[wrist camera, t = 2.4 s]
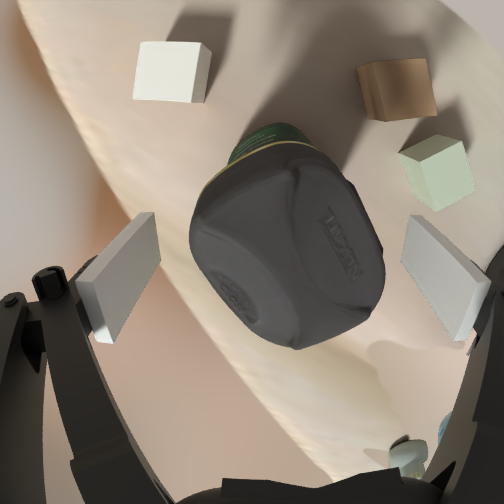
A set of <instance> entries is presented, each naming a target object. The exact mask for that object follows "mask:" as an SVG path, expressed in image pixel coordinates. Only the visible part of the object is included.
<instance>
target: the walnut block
mask: <svg viewBox="0 0 504 504" xmlns="http://www.w3.org/2000/svg"><path fill="white" fill-rule="evenodd" d="M356 71H357V75H358V79H359V83H360V86H361V90H362V94H363V99H364V103H365V107H366V111H367V116H368V119H373V120H379V121H384V122H389V121H396V120H403V119H410V118H419V117H427V116H437V109H436V104H435V99H434V94H433V89H432V84H431V80H430V75H429V71H428V67H427V63H426V59H425V58H420V59H400V60H386V61H376V62H370V63H368V64H365V65H363V66H360V67H358V68H356Z"/></svg>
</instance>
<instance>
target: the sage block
mask: <svg viewBox="0 0 504 504" xmlns="http://www.w3.org/2000/svg"><path fill="white" fill-rule="evenodd" d="M398 154H399V156H400V159H401V161H402V164H403V166H404V169H405V171H406V174H407V176H408V179H409V182H410V184H411V187H412V190H413V193H414V195H415V197H416V198H418V199H419V200H421V201H422V202H423V203H425V204H426V205H427V206H429V207H430V208H431V209H433V210H434V211H435V212H438V211H440V210H441V209H443V208H445V207H447V206H449V205H450V204H452V203H454V202H456V201H458V200H459V199H461V198H463V197H465V196H466V195H468V194H470V193H472V192H473V191H475V190H476V189H475V185H474V181H473V177H472V173H471V170H470V166H469V162H468V159H467V156H466V152H465V149H464V146H463V143H462V141H461V140H457V139H454V138H450V137H446V136H442V135H438V134H435V135H433V136H431V137H429V138H427V139H425V140H423V141H421V142H419V143H417V144H415V145H413V146H411V147H409V148H407V149H405V150H403V151H401V152H399V153H398Z"/></svg>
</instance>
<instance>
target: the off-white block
mask: <svg viewBox="0 0 504 504" xmlns="http://www.w3.org/2000/svg"><path fill="white" fill-rule="evenodd" d="M211 57H212V52H211V51H210V50H209V49H208V48H206V47H205V46H204V45H203V44H202V43H199V42H141V45H140V51H139V57H138V63H137V69H136V76H135V83H134V90H133V98H132V99H142V100H163V101H178V102H190V103H204V99H205V93H206V86H207V80H208V74H209V68H210V63H211Z"/></svg>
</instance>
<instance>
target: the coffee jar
mask: <svg viewBox="0 0 504 504" xmlns="http://www.w3.org/2000/svg"><path fill="white" fill-rule="evenodd" d="M189 244H190V249H191V253H192V255H193V258H194V260H195V262H196V263H197V265H198V267H199V269H200V270H201V271H202V272H203V274H204V275H205V277H206V278H207V280H208V281H209V282H210V284H211V285H212V287H213V288H214V289H215V291H216V292H217V293H218V294H219V296H220V297H221V298H222V300H223V301H224V302H225V303H226V304H227V306H228V307H229V308H230V309H231V310H232V311H233V312H234V313H235V314H236V315H237V317H238V318H239V319H240V320H241V321H242V322H243V323H244V324H245V325H246V326H247V327H248V328H249V329H250V330H251V331H252V332H254V333H255V334H257V335H258V336H260V337H261V338H263V339H265V340H267V341H269V342H272V343H274V344H277V345H281V346H285V347H291V348H292V349H295V350H300V349H303V348H306V347H309V346H312V345H315V344H318V343H321V342H323V341H326V340H328V339H331V338H333V337H335V336H338V335H340V334H342V333H344V332H346V331H348V330H350V329H352V328H354V327H356V326H357V325H359V324H361V323H363V322H364V321H366V320H367V319H368V318H369V317H370V315H371V313H372V311H373V310H374V308H375V307H376V305H377V303H378V302H379V300H380V298H381V295H382V292H383V289H384V285H385V275H386V273H385V264H384V260H383V247H382V245H381V243H380V241H379V238H378V236H377V234H376V232H375V230H374V227H373V225H372V223H371V221H370V218H369V216H368V214H367V212H366V210H365V208H364V206H363V204H362V201H361V199H360V197H359V195H358V193H357V191H356V189H355V187H354V185H353V184H352V183H351V182H349V181H348V180H347V179H345V177H344V176H343V174H342V173H341V172H340V170H339V169H338V168H337V166H336V165H335V164H334V163H333V162H332V160H331V159H330V158H329V157H327V156H326V155H325V154H324V153H323V152H321V151H320V150H318V149H317V148H315V147H314V146H313V145H312V144H311V143H310V141H309V140H308V139H307V138H306V137H305V136H304V135H303V134H302V133H301V132H300V131H299V130H298V129H297V128H295V127H293V126H291V125H289V124H285V123H275V124H271V125H268V126H265V127H263V128H261V129H259V130H257V131H256V132H254V133H252V134H251V135H249V136H247V137H246V138H245V139H243V140H242V141H241V142H240V143H239V144H238V145H237V146H236V147H235V148H234V150H233V152H232V153H231V156H230V158H229V161H228V165H227V166H226V167H225V168H223V169H222V170H221V171H220V172H219V173H217V174H216V175H215V176H214V177H213V178H212V179H211V180H210V181H209V182H208V183H207V184H206V185H205V187H204V188H203V190H202V191H201V193H200V195H199V198H198V200H197V204H196V207H195V210H194V214H193V216H192V220H191V224H190V230H189Z"/></svg>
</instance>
